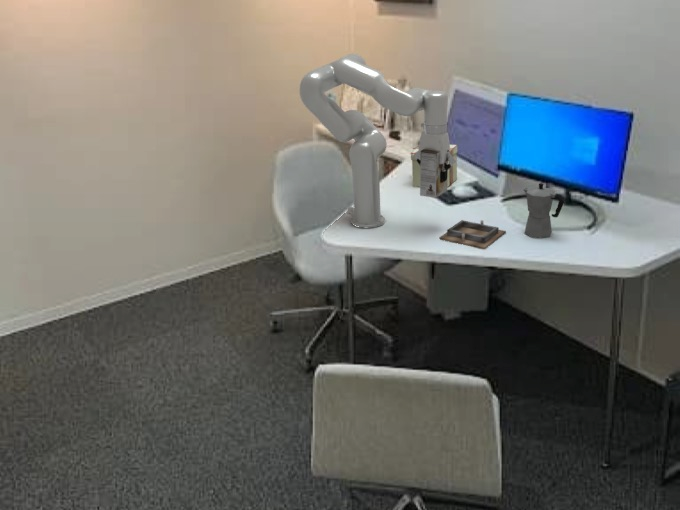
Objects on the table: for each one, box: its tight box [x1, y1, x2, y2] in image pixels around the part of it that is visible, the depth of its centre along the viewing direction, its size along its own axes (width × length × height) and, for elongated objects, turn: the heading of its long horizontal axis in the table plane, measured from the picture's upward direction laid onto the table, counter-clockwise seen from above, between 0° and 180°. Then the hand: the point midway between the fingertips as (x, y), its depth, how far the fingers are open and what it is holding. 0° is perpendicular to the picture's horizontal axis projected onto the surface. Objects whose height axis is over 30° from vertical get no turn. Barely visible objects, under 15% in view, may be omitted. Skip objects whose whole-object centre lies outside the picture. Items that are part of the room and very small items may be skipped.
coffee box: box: [419, 149, 448, 199], centre depth 246 cm, size 9×6×16 cm
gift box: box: [410, 144, 458, 188], centre depth 297 cm, size 17×18×17 cm
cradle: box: [438, 219, 507, 250], centre depth 247 cm, size 17×16×3 cm
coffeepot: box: [523, 182, 565, 239], centre depth 243 cm, size 15×9×18 cm, turn 43°
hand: (433, 179), depth 248 cm, fingers closed on coffee box, 6 cm apart
